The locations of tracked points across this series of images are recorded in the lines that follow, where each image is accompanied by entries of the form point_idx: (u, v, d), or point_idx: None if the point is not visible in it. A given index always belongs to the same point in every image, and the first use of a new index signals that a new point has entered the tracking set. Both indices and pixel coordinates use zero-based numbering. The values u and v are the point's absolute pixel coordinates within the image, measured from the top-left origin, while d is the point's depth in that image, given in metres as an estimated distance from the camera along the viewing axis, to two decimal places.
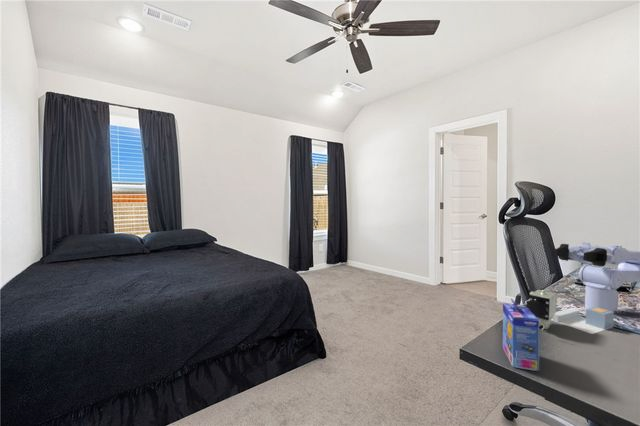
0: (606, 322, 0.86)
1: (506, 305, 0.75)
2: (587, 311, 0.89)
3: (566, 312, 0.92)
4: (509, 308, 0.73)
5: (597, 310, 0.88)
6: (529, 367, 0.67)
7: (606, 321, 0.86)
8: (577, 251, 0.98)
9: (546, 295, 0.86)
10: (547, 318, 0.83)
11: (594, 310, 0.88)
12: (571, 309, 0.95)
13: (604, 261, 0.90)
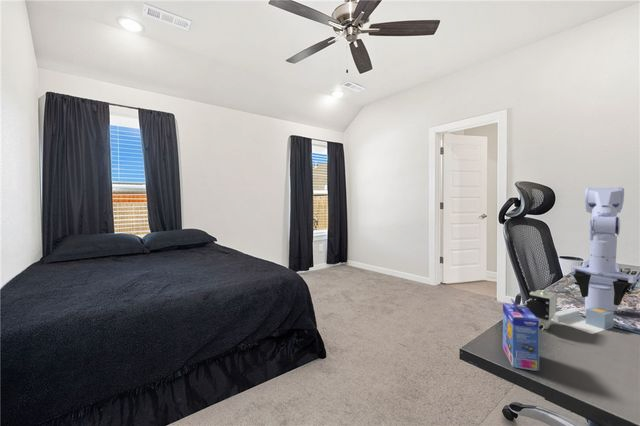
0: (606, 322, 0.86)
1: (506, 305, 0.75)
2: (587, 311, 0.89)
3: (566, 312, 0.92)
4: (509, 308, 0.73)
5: (597, 310, 0.88)
6: (529, 367, 0.67)
7: (606, 321, 0.86)
8: None
9: (546, 295, 0.86)
10: (547, 318, 0.83)
11: (594, 310, 0.88)
12: (571, 309, 0.95)
13: (630, 284, 0.83)
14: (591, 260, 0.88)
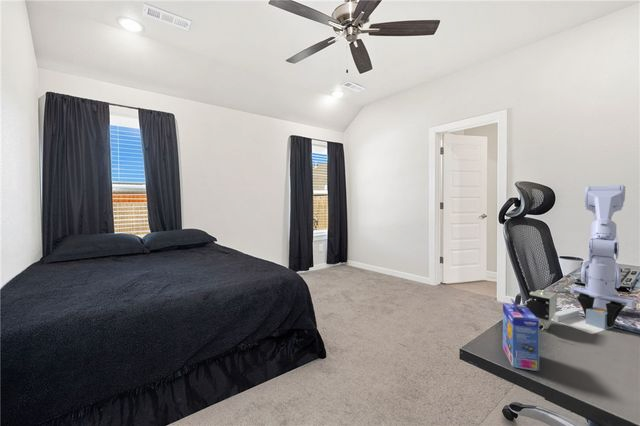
0: (606, 322, 0.86)
1: (506, 305, 0.75)
2: (587, 311, 0.89)
3: (566, 312, 0.92)
4: (509, 308, 0.73)
5: (597, 310, 0.88)
6: (529, 367, 0.67)
7: (606, 321, 0.86)
8: None
9: (546, 295, 0.86)
10: (547, 318, 0.83)
11: (594, 310, 0.88)
12: (571, 309, 0.95)
13: (623, 306, 0.84)
14: (590, 282, 0.89)
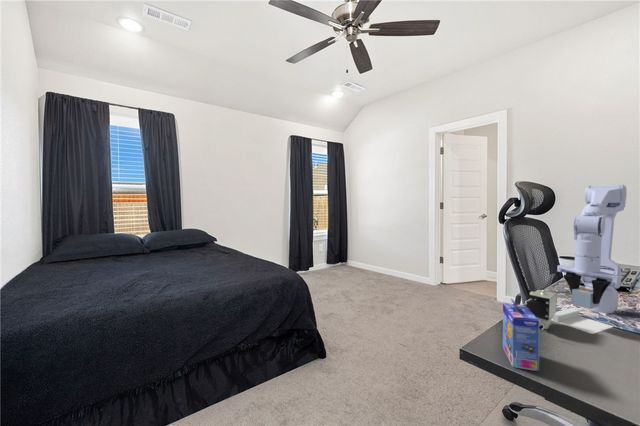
0: (592, 302, 0.85)
1: (506, 305, 0.75)
2: (573, 291, 0.88)
3: (566, 312, 0.92)
4: (509, 308, 0.73)
5: (583, 290, 0.87)
6: (529, 367, 0.67)
7: (591, 301, 0.85)
8: None
9: (546, 295, 0.86)
10: (547, 318, 0.83)
11: (580, 290, 0.87)
12: (571, 309, 0.95)
13: (609, 283, 0.84)
14: (576, 260, 0.88)
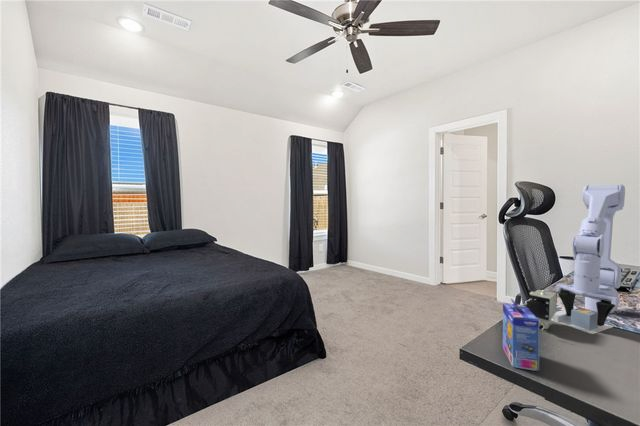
0: (591, 323, 0.85)
1: (506, 305, 0.75)
2: (572, 312, 0.89)
3: None
4: (509, 308, 0.73)
5: (582, 311, 0.88)
6: (529, 367, 0.67)
7: (590, 322, 0.85)
8: None
9: (546, 295, 0.86)
10: (547, 318, 0.83)
11: (579, 311, 0.88)
12: None
13: (613, 305, 0.83)
14: (575, 280, 0.88)
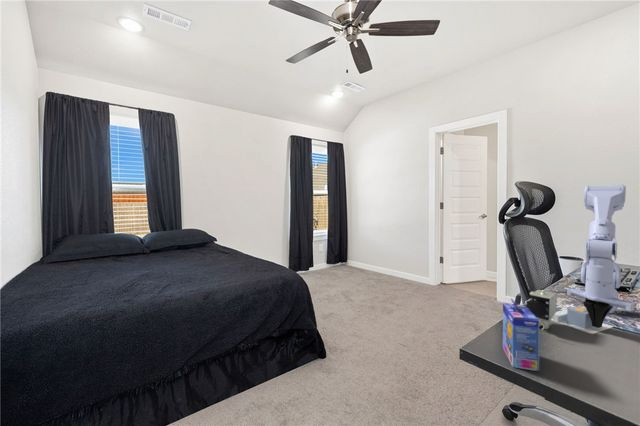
0: (587, 321, 0.86)
1: (506, 305, 0.75)
2: (568, 311, 0.90)
3: (566, 312, 0.92)
4: (509, 308, 0.73)
5: (578, 310, 0.89)
6: (529, 367, 0.67)
7: (586, 321, 0.86)
8: None
9: (546, 295, 0.86)
10: (547, 318, 0.83)
11: (575, 310, 0.89)
12: None
13: (611, 307, 0.83)
14: (587, 285, 0.85)
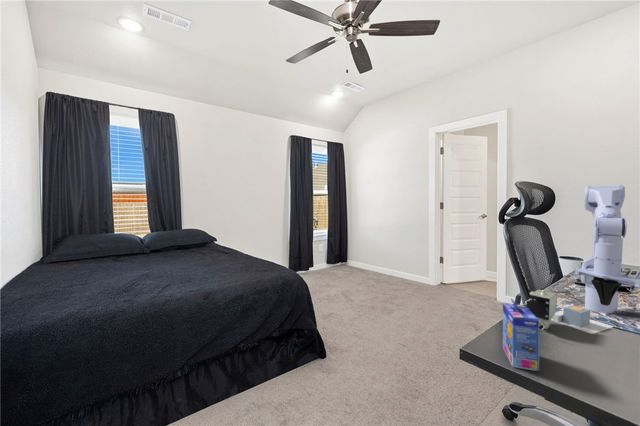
0: (582, 320, 0.87)
1: (506, 305, 0.75)
2: (564, 309, 0.91)
3: None
4: (509, 308, 0.73)
5: (574, 308, 0.90)
6: (529, 367, 0.67)
7: (582, 319, 0.87)
8: None
9: (546, 295, 0.86)
10: (547, 318, 0.83)
11: (571, 308, 0.90)
12: None
13: (619, 284, 0.83)
14: (596, 263, 0.85)
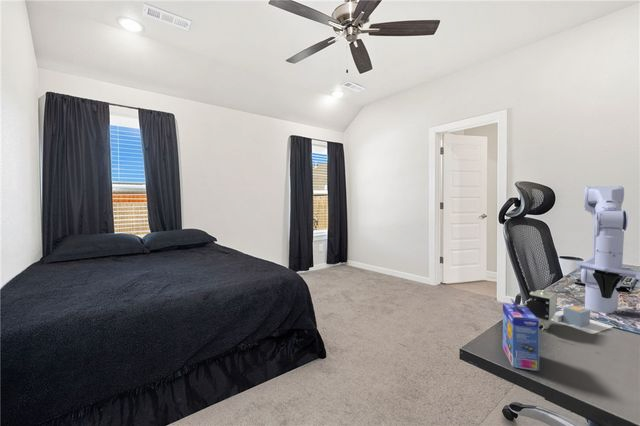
0: (582, 320, 0.87)
1: (506, 305, 0.75)
2: (564, 309, 0.91)
3: None
4: (509, 308, 0.73)
5: (574, 308, 0.90)
6: (529, 367, 0.67)
7: (582, 319, 0.87)
8: None
9: (546, 295, 0.86)
10: (547, 318, 0.83)
11: (571, 308, 0.90)
12: None
13: (621, 277, 0.83)
14: (597, 256, 0.85)
